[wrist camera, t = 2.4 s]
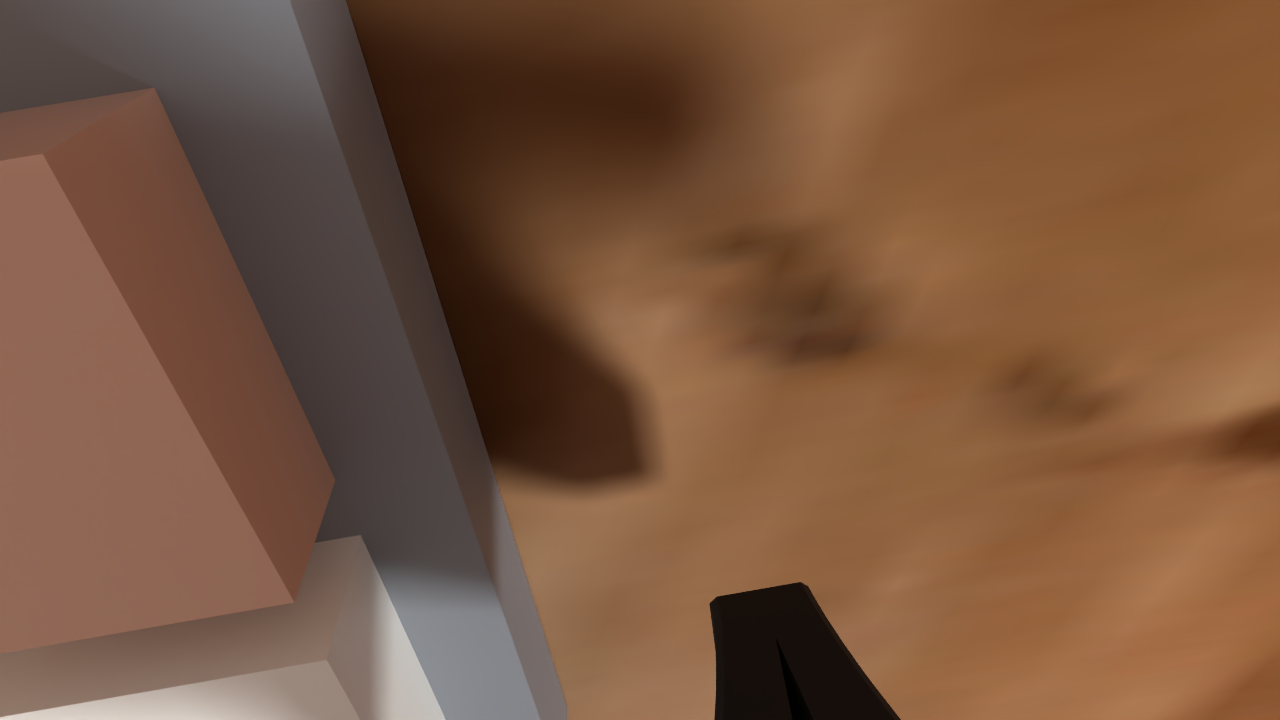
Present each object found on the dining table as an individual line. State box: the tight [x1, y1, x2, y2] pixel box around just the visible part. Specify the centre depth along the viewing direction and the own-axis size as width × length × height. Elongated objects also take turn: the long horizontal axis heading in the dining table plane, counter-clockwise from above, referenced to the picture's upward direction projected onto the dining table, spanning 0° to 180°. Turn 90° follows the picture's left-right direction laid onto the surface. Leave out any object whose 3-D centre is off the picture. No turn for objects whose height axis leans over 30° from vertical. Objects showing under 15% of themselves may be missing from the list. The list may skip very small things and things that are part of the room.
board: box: [0, 0, 567, 720], centre depth 12 cm, size 15×13×2 cm
